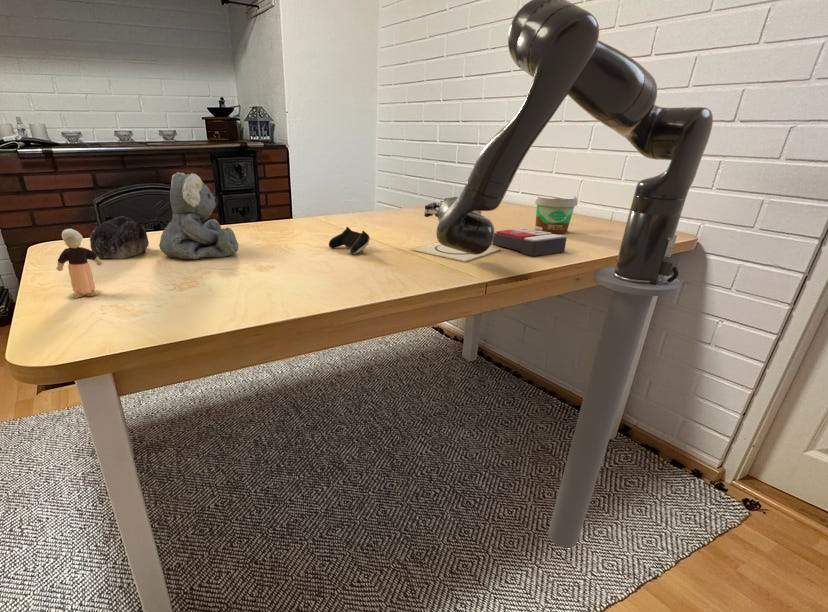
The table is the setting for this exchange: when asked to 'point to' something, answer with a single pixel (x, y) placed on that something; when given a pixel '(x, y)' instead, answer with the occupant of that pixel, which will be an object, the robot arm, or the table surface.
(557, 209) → the food container
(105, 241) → the dark grey furry dome
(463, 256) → the paper sheet
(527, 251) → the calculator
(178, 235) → the koala plush
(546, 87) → the robot arm
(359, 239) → the gaming controller
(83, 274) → the grandmother figurine
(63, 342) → the table surface
